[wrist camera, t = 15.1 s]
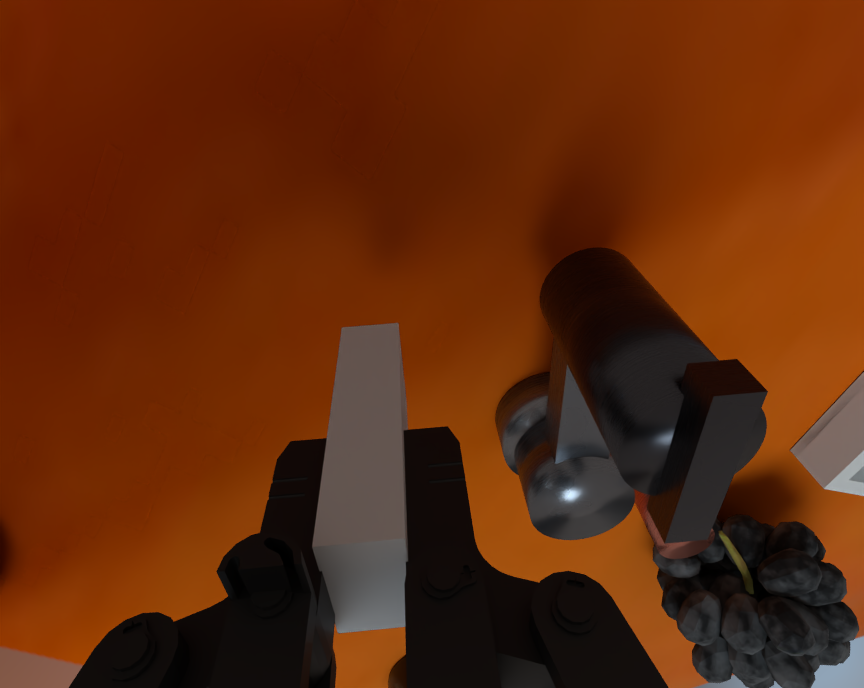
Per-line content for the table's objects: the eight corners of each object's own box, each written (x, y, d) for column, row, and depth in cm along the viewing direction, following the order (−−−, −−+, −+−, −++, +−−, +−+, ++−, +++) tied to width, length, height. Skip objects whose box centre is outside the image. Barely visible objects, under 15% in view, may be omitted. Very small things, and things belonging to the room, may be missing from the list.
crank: (600, 476, 23) (692, 685, 16) (512, 485, 23) (567, 699, 16) (651, 216, 16) (848, 384, 9) (526, 225, 16) (631, 403, 9)
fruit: (850, 583, 33) (811, 474, 24) (901, 746, 28) (875, 680, 19) (702, 584, 37) (626, 494, 29) (722, 724, 32) (637, 663, 24)
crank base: (478, 446, 25) (497, 536, 21) (518, 362, 22) (549, 447, 18) (647, 474, 27) (694, 561, 23) (702, 401, 24) (766, 485, 20)
